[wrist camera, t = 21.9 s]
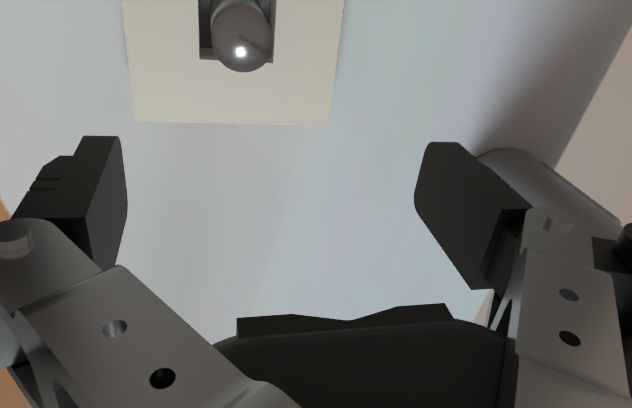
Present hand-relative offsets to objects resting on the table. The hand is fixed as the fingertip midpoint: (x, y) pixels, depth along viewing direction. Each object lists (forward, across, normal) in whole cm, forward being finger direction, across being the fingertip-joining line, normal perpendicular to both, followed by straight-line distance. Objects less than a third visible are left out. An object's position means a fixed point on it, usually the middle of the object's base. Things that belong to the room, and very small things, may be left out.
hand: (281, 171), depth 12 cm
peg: (+22, 0, 0) cm, 22 cm away
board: (+22, 0, 0) cm, 22 cm away
